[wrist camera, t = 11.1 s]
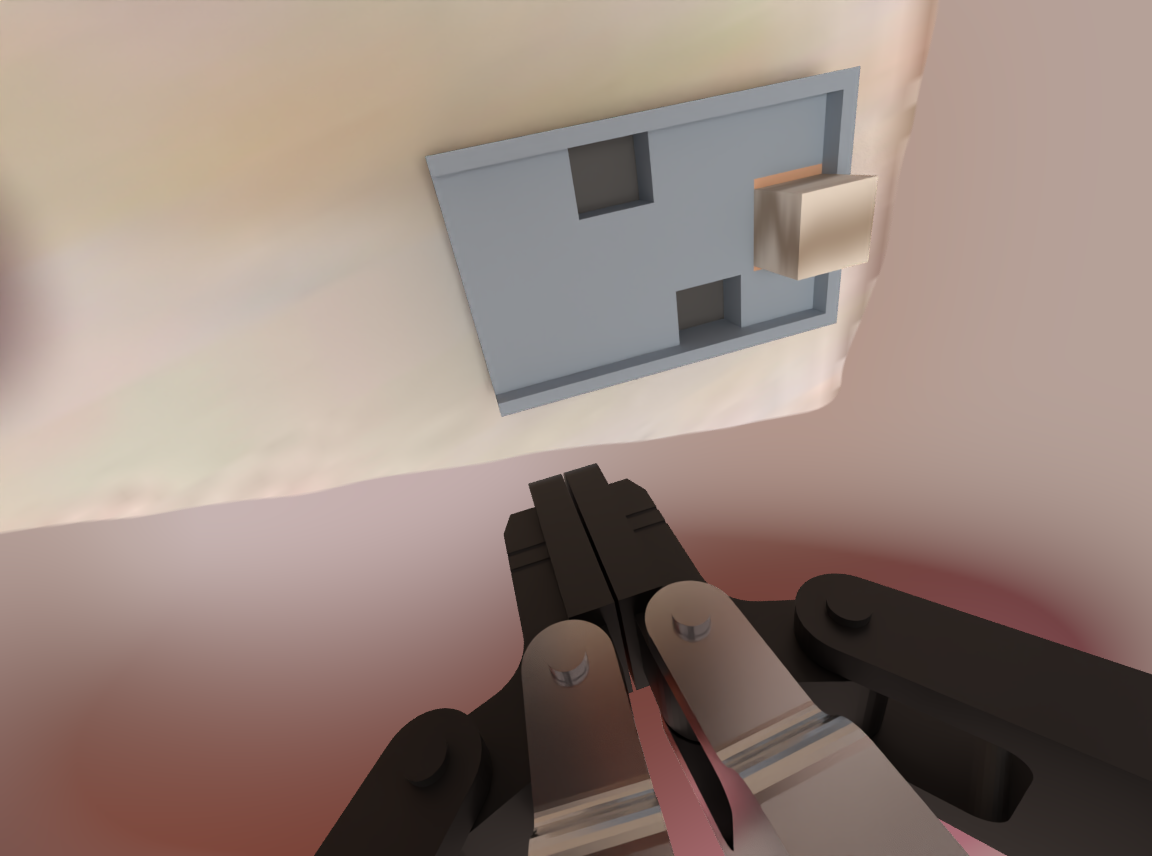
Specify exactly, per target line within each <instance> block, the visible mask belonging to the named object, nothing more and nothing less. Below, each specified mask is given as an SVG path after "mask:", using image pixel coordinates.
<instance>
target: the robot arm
mask: <svg viewBox="0 0 1152 856" xmlns="http://www.w3.org/2000/svg"><path fill="white" fill-rule="evenodd" d="M564 480H565V481H564ZM529 488H530V492H531V495H532V499H533V502H534V506H535V507H534V508H531V509H527V510H524V511H521V512H518V513H515V514H511V515H510V518H509V520H508V523H507V526H506V529H505V532H504V539H505V544H506V549H507V554H508V559H509V565H510V570H511V573H512V574H511V575H512V580H513V585H514V590H515V595H516V601H517V606H518V611H519V616H520V621H521V626H522V632H523V638H524V651H523V656H522V659H521V662H520V664H519V667H518V669H517V670H516V672H515V674H514V676H513V677H512V678H511V680H510V681H509V682H508V683H507V684H506V685H505V686H504V688H503V689H502V690H500V691H499V692H498V693H497V694H496V695H494V696H493V697H492V698H490V699H489V700H488V701H487V702H485V703H484V704H482V705H481V706H479V707H478V708H477V709H475V710H474V711H473V712H471V713H470V714H468V715H466V714H465V713H463V712H461V711H459V710H455V709H448V708H442V709H435V710H432V711H429V712H426V713H424V714H422V715H420V716H418V717H416V718H415V719H413V720H412V721H410V722H409V723H408V724H406V725H405V726H404V727H403V728H402V729H401V730H400V731H399V732H398V733H397V734H396V735H395V736H394V738H393V739H392V740H391V742H390V743H389V744H388V746H387V747H386V749H385V750H384V752H383V753H382V755H381V756H380V758H379V759H378V761H377V762H376V764H375V765H374V767H373V768H372V770H371V771H370V773H369V774H368V776H367V777H366V779H365V780H364V782H363V783H362V785H361V786H360V788H359V789H358V791H357V792H356V794H355V795H354V797H353V798H352V800H351V801H350V803H349V804H348V806H347V807H346V809H345V810H344V812H343V813H342V815H341V816H340V818H339V819H338V821H337V822H336V824H335V825H334V827H333V828H332V830H331V831H330V833H329V834H328V836H327V837H326V839H325V840H324V842H323V843H322V845H321V846H320V848H319V849H318V851H317V852H316V854H315V855H314V856H674V854H673V850H672V846H671V843H670V839H669V836H668V832H667V829H666V825H665V822H664V819H663V815H662V812H661V809H660V806H659V803H658V800H657V797H656V795H655V792H654V789H653V786H652V782H651V779H650V775H649V772H648V768H647V765H646V761H645V757H644V754H643V751H642V747H641V744H640V740H639V736H638V733H637V729H636V725H635V721H634V716H633V712H632V707H631V703H630V698H629V693H631V692H633V690H632V684H631V680H630V675H631V677H632V680H633V682H634V685H635V687H636V690H638V689H641V688H644V687H646V686H649V685H650V687H651V690H652V692H653V694H654V697H655V699H656V702H657V704H658V706H659V709H660V714H661V720H662V725H663V729H664V731H665V734H666V736H667V738H668V740H669V742H670V744H671V746H672V748H673V750H674V752H675V754H676V756H677V758H678V760H679V762H680V765H681V767H682V769H683V771H684V772H685V774H686V777H687V779H688V781H689V783H690V785H691V787H692V789H693V791H694V793H695V795H696V797H697V799H698V801H699V803H700V805H701V807H702V809H703V811H704V813H705V815H706V817H707V819H708V821H709V824H710V826H711V827H712V830H713V832H714V834H715V836H716V838H717V840H718V842H719V844H720V846H721V848H722V850H723V852H724V855H725V856H969V855H968V854H967V852H966V851H965V850H964V849H963V848H962V846H961V845H960V844H959V843H958V842H957V841H956V839H955V838H954V837H953V836H952V835H951V833H950V832H949V831H948V830H947V829H946V828H945V826H944V825H943V824H942V823H941V822H940V821H939V819H940V820H942V821H944V822H946V823H948V824H950V825H952V826H953V827H955V828H957V829H959V830H961V831H963V832H964V833H966V834H968V835H970V836H972V837H974V838H975V839H978V840H979V841H981V842H983V843H985V844H987V845H989V846H990V847H992V848H994V849H996V850H998V851H1000V852H1001V853H1004V854H1005V855H1007V856H1152V674H1149V673H1146V672H1143V671H1140V670H1137V669H1134V668H1131V667H1128V666H1125V665H1122V664H1119V663H1116V662H1113V661H1110V660H1107V659H1104V658H1101V657H1098V656H1095V655H1091V654H1089V653H1086V652H1082V651H1080V650H1077V649H1074V648H1070V647H1067V646H1064V645H1061V644H1058V643H1055V642H1052V641H1049V640H1046V639H1043V638H1040V637H1037V636H1034V635H1031V634H1028V633H1025V632H1022V631H1019V630H1016V629H1013V628H1010V627H1007V626H1004V625H1001V624H998V623H995V622H992V621H988V620H986V619H983V618H980V617H977V616H974V615H971V614H968V613H965V612H962V611H959V610H956V609H953V608H950V607H947V606H944V605H941V604H938V603H934V602H931V601H928V600H926V599H922V598H920V597H916V596H913V595H910V594H907V593H904V592H901V591H898V590H895V589H892V588H889V587H886V586H883V585H880V584H877V583H874V582H871V581H868V580H865V579H862V578H858V577H855V576H851V575H846V574H824V575H820V576H817V577H814V578H812V579H810V580H808V581H807V582H805V583H804V584H803V585H802V586H801V587H800V589H799V591H798V592H797V596H796V599H795V600H785V601H784V600H782V601H745V600H739V599H735V598H732V597H729V596H727V595H726V594H725V593H724V592H723V591H721V590H720V589H718V588H716V587H715V586H712V585H710V584H708V583H707V582H706V581H705V580H704V579H703V578H702V576H701V575H700V573H699V572H698V570H697V569H696V567H695V566H694V564H693V563H692V561H691V559H690V558H689V556H688V555H687V553H686V552H685V550H684V549H683V548H682V546H681V544H680V542H679V541H678V539H677V538H676V536H675V535H674V534H673V532H672V530H671V529H670V527H669V525H668V524H667V523H666V522H665V519H664V518H663V516H662V515H661V513H660V512H659V510H657V508H656V505H655V504H654V502H653V501H652V499H651V498H650V496H649V495H648V493H647V491H646V490H645V489H643V488H642V487H640V486H638V485H637V484H635V483H634V482H632V481H630V480H628V479H624V480H621V481H617V482H614V483H611V484H608V483H607V481H606V479H605V477H604V476H603V473H602V472H601V470H600V468H599V466H598V465H597V464H596V463H595V464H592V465H588V466H585V467H582V468H579V469H575V470H572V471H569V472H565V473H564V479H563V477H562V475H561V474H559V475H556V476H553V477H549V478H546V479H543V480H539V481H536V482H533V483H529ZM628 669H629V670H628ZM629 672H630V675H629ZM938 818H939V819H938Z"/></svg>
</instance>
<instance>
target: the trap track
mask: <svg viewBox="0 0 1152 856" xmlns="http://www.w3.org/2000/svg"><path fill="white" fill-rule="evenodd" d="M859 76H860V66H858V67H853V68H848V69H844V70H839V71H834V72H829V73H824V74H820V75H815V76H810V77H805V78H800V79H796V80H791V81H786V82H781V83H776V84H772V85H767V86H762V87H757V88H752V89H747V90H743V91H738V92H733V93H728V94H723V95H719V96H714V97H709V98H704V99H699V100H695V101H690V102H685V103H680V104H675V105H671V106H666V107H661V108H656V109H651V110H647V111H642V112H637V113H632V114H627V115H622V116H618V117H613V118H608V119H603V120H598V121H594V122H589V123H584V124H579V125H574V126H570V127H565V128H560V129H555V130H550V131H546V132H541V133H536V134H531V135H526V136H521V137H517V138H512V139H507V140H502V141H497V142H493V143H488V144H483V145H478V146H473V147H469V148H464V149H459V150H454V151H449V152H445V153H440V154H435V155H430V156H425V158H426V161H427V165H428V168H429V171H430V175H431V177H432V181H433V184H434V188H435V191H436V194H437V198H438V201H439V205H440V208H441V211H442V215H443V218H444V221H445V225H446V228H447V232H448V235H449V238H450V242H451V245H452V249H453V252H454V255H455V259H456V262H457V266H458V269H459V272H460V276H461V279H462V283H463V286H464V289H465V293H466V296H467V300H468V303H469V306H470V310H471V313H472V317H473V320H474V323H475V327H476V330H477V334H478V337H479V340H480V344H481V347H482V351H483V354H484V357H485V361H486V364H487V368H488V371H489V374H490V378H491V381H492V385H493V388H494V391H495V395H496V399H497V402H498V406H499V409H500V413H501V416H502V417H503V416H506V415H510V414H513V413H517V412H521V411H524V410H528V409H531V408H535V407H538V406H542V405H546V404H549V403H553V402H556V401H560V400H563V399H567V398H570V397H574V396H578V395H581V394H585V393H588V392H592V391H595V390H599V389H603V388H606V387H610V386H613V385H617V384H620V383H624V382H628V381H631V380H635V379H638V378H642V377H645V376H649V375H652V374H656V373H660V372H663V371H667V370H670V369H674V368H677V367H681V366H685V365H688V364H692V363H695V362H699V361H702V360H706V359H710V358H713V357H717V356H720V355H724V354H727V353H731V352H734V351H738V350H742V349H745V348H749V347H752V346H756V345H759V344H763V343H767V342H770V341H774V340H777V339H781V338H784V337H788V336H792V335H795V334H799V333H802V332H806V331H809V330H813V329H816V328H820V327H824V326H827V325H831V324H834V323H836V322H837V311H838V301H839V290H840V279H841V269H840V270H836V271H832V272H828V273H824V274H821V275H817V276H813V277H809V278H805V279H802V280H798V281H797V280H794V279H791V278H788V277H785V276H782V275H779V274H776V273H773V272H770V271H767V270H764V269H761V268H758V267H755V266H754V189H758V188H762V187H766V186H771V185H775V184H779V183H783V182H788V181H792V180H796V179H801V178H805V177H809V176H813V175H818V174H845V175H850V172H851V162H852V151H853V140H854V129H855V119H856V108H857V97H858V87H859Z"/></svg>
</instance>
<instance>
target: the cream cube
mask: <svg viewBox="0 0 1152 856" xmlns="http://www.w3.org/2000/svg"><path fill="white" fill-rule="evenodd" d="M877 183H878V176H871V175H845V174H818V175H813V176H809V177H805V178H801V179H796V180H792V181H788V182H783V183H779V184H775V185H771V186H766V187H762V188H758V189H754V266H755V267H758V268H761V269H764V270H767V271H770V272H773V273H776V274H779V275H782V276H785V277H788V278H791V279H794V280H797V281H798V280H802V279H805V278H809V277H813V276H817V275H821V274H824V273H828V272H832V271H836V270H840V269H843V268H847V267H851V266H855V265H859V264H862V263H866V262H868V257H869V249H870V240H871V232H872V224H873V216H874V207H875V199H876V191H877Z"/></svg>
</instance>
